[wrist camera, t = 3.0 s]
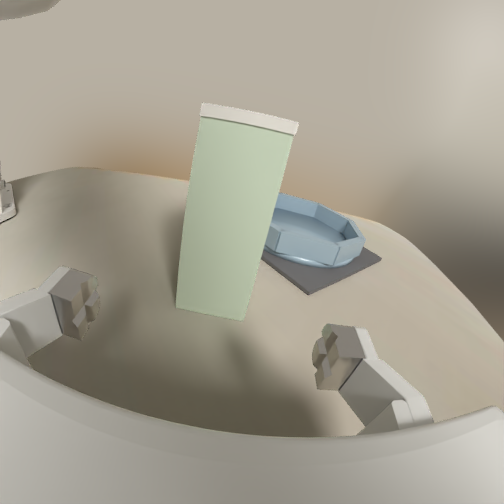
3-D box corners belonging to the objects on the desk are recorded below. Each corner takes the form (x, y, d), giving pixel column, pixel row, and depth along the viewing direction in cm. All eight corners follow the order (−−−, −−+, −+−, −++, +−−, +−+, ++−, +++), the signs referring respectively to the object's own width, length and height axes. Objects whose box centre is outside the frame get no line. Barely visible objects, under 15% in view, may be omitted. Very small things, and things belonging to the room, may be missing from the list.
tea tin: (174, 308, 21) (202, 102, 14) (188, 270, 26) (216, 106, 19) (244, 322, 21) (299, 122, 14) (246, 282, 26) (288, 121, 19)
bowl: (214, 214, 38) (218, 193, 37) (293, 208, 49) (298, 192, 48) (304, 282, 28) (315, 255, 26) (372, 254, 39) (380, 236, 37)
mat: (203, 214, 39) (203, 211, 39) (290, 207, 51) (291, 205, 51) (308, 295, 27) (309, 291, 26) (380, 260, 39) (381, 258, 39)
